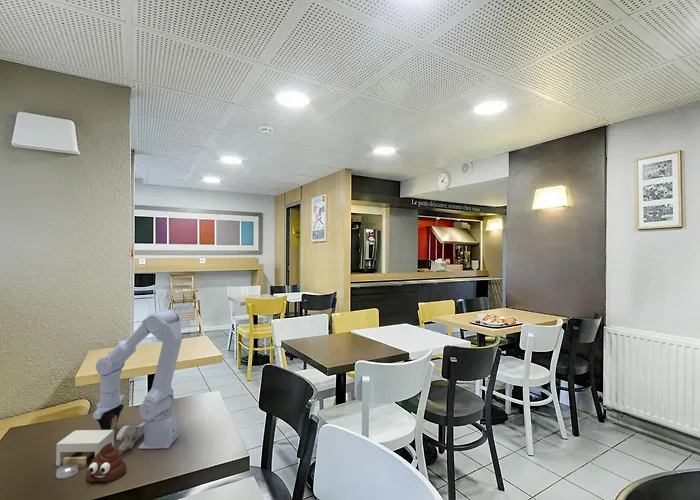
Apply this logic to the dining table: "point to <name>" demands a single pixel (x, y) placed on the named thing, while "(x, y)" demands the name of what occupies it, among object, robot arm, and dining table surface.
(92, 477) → the poop emoji
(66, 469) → the steel token
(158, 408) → the robot arm
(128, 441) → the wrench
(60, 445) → the white step stool
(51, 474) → the dining table surface
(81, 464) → the push blade
